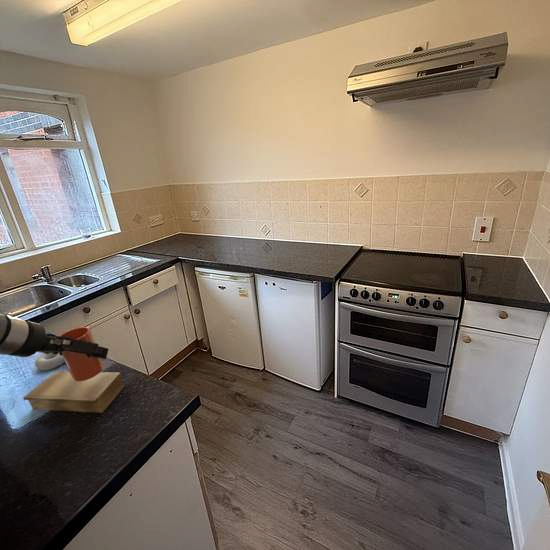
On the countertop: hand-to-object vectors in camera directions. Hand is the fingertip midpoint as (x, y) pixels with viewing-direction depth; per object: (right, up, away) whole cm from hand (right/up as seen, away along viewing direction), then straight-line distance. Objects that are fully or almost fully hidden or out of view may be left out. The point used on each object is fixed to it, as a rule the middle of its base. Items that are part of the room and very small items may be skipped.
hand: (93, 353), depth 84 cm
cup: (0, -5, -2) cm, 5 cm away
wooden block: (-5, -13, +2) cm, 15 cm away
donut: (-26, -9, +20) cm, 34 cm away
